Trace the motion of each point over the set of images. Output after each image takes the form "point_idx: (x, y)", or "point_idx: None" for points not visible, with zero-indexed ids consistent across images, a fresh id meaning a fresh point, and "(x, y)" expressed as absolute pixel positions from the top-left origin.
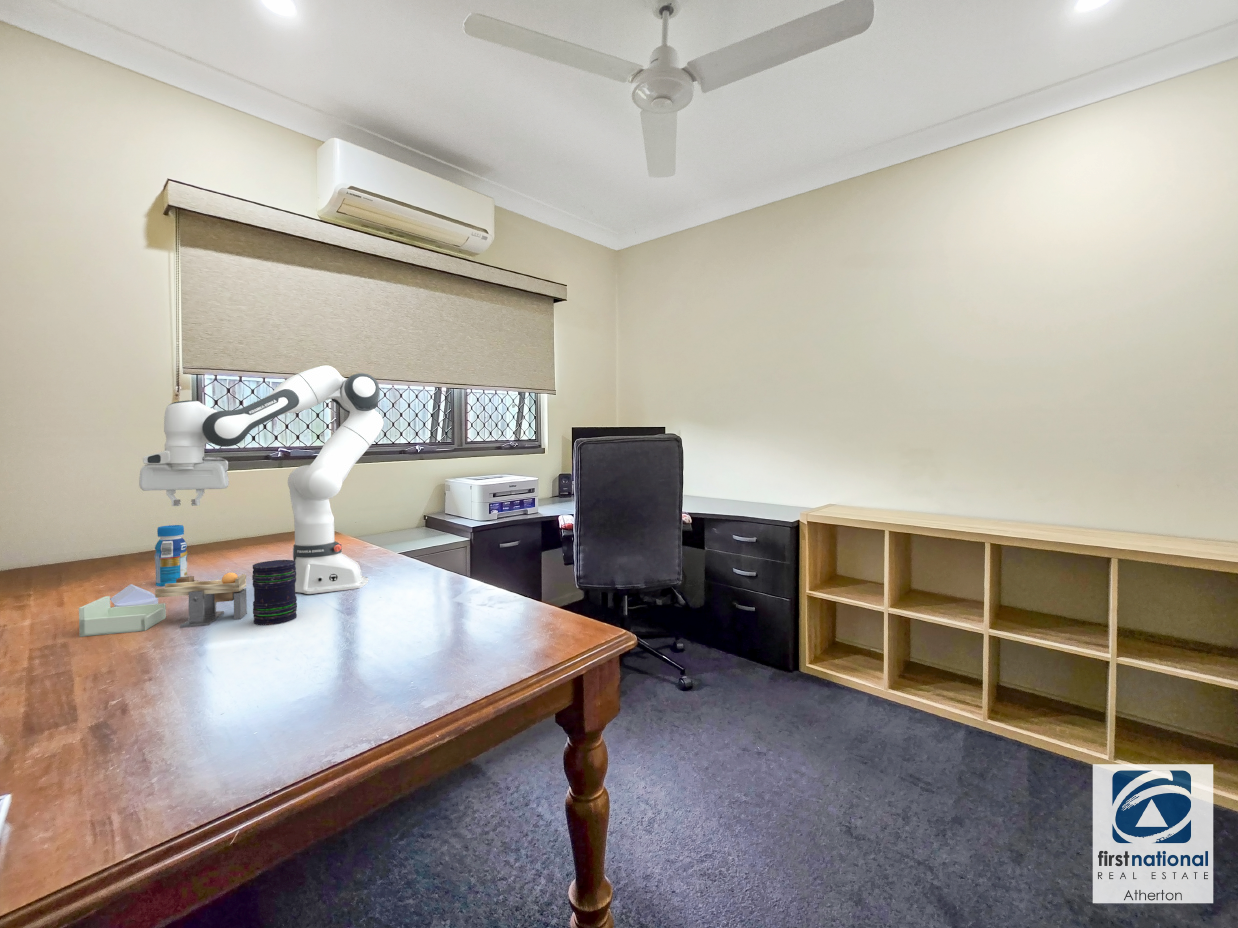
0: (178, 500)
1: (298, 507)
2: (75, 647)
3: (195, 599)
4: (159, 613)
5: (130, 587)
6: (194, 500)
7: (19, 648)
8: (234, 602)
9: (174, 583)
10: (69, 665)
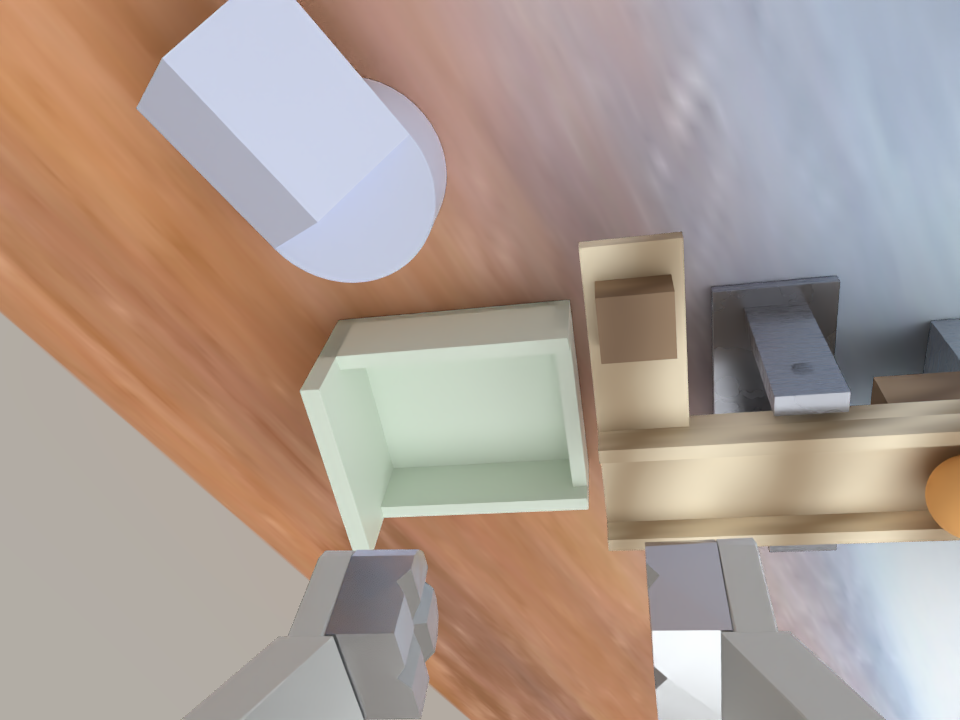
0: (414, 680)
1: None
2: (461, 571)
3: None
4: (575, 377)
5: (219, 127)
6: (713, 700)
7: (284, 539)
8: None
9: (644, 455)
10: (561, 693)
